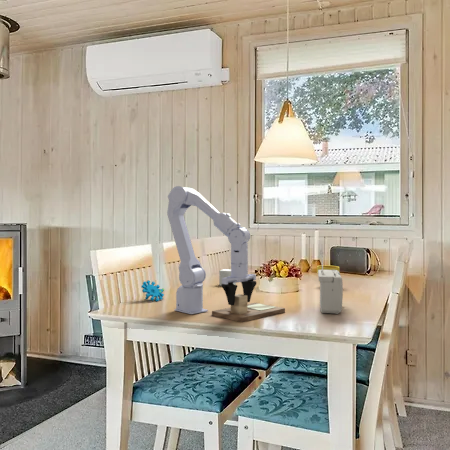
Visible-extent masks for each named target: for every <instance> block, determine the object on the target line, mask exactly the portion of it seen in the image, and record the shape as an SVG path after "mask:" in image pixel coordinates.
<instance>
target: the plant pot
mask: <svg viewBox="0 0 450 450" xmlns="http://www.w3.org/2000/svg"><path fill="white" fill-rule="evenodd" d="M318 270H322V264H321V265H317V266H316V273H317V274H318ZM323 270H337V271H339V272H341V271H340V266H337V265H329V264H328V265H324V264H323ZM318 282H319V283H320V281H319V280H318Z"/></svg>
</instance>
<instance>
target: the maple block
mask: <svg viewBox="0 0 450 450" xmlns="http://www.w3.org/2000/svg"><path fill="white" fill-rule="evenodd" d="M247 304H248V302H247V295H243V293H242V294H240V293H237V294H236V293H235V303H234V305H230V307H231V313H235V314H244V313H247Z"/></svg>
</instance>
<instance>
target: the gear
mask: <svg viewBox="0 0 450 450" xmlns="http://www.w3.org/2000/svg"><path fill="white" fill-rule="evenodd" d="M150 283H151V284H150ZM155 284H156V282H155V281H150V280H146V281H145V280H144V281H143V282H142V285H141V286H140V287H141V288H142V293H143V294H144V293H145V300H148V299H150V300H151V301H154V300H155V301H156V302H159V301H162V300H163V299H164V298H163V297H164V295H165V294H164V291H165V289H164V288H160V287H161V286H160V285H159V284H157V285H155Z"/></svg>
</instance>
